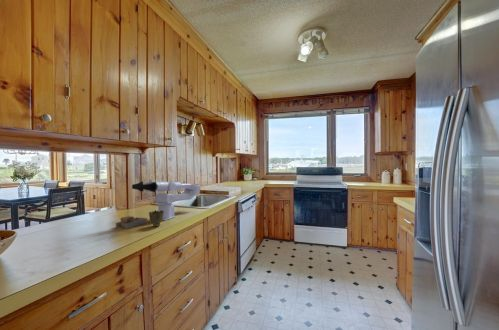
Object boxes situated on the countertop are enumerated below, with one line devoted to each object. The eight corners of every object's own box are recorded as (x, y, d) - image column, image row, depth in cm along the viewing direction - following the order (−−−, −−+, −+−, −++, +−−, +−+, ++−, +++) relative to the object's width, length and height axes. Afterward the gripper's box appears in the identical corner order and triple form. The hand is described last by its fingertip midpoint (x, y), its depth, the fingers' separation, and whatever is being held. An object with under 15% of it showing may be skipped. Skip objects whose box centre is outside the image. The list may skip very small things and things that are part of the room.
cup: (166, 224, 123) (166, 210, 123) (159, 228, 116) (159, 213, 116) (153, 224, 124) (153, 209, 124) (146, 227, 116) (146, 212, 116)
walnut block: (128, 224, 123) (128, 215, 123) (134, 225, 121) (133, 216, 121) (120, 227, 119) (120, 217, 119) (126, 227, 117) (126, 218, 117)
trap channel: (137, 221, 131) (137, 216, 131) (147, 222, 128) (147, 218, 128) (115, 227, 118) (115, 222, 118) (125, 228, 115) (125, 224, 115)
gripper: (148, 179, 134) (128, 179, 121) (166, 180, 128) (148, 179, 116) (147, 191, 133) (127, 192, 121) (166, 192, 127) (147, 193, 115)
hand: (137, 186), depth 118 cm, fingers open, 7 cm apart
